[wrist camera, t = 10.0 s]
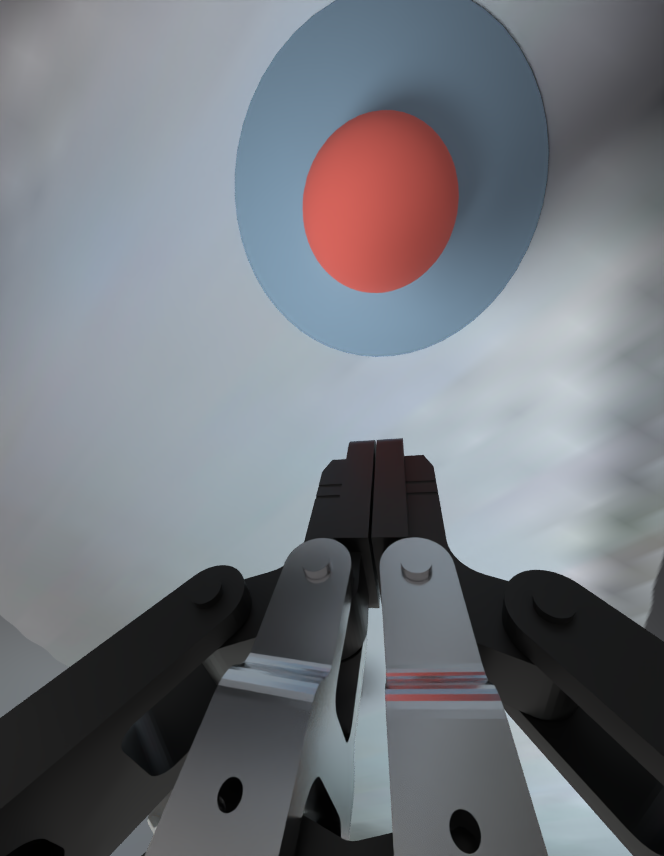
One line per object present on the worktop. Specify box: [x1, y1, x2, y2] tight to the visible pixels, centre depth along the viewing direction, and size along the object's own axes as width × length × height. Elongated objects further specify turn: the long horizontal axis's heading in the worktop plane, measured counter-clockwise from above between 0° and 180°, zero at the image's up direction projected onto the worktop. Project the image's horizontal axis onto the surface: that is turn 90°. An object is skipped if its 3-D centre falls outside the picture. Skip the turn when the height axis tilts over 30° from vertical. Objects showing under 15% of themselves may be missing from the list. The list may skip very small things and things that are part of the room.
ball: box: [303, 110, 459, 293], centre depth 14 cm, size 6×6×6 cm
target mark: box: [235, 0, 549, 357], centre depth 16 cm, size 14×14×1 cm
